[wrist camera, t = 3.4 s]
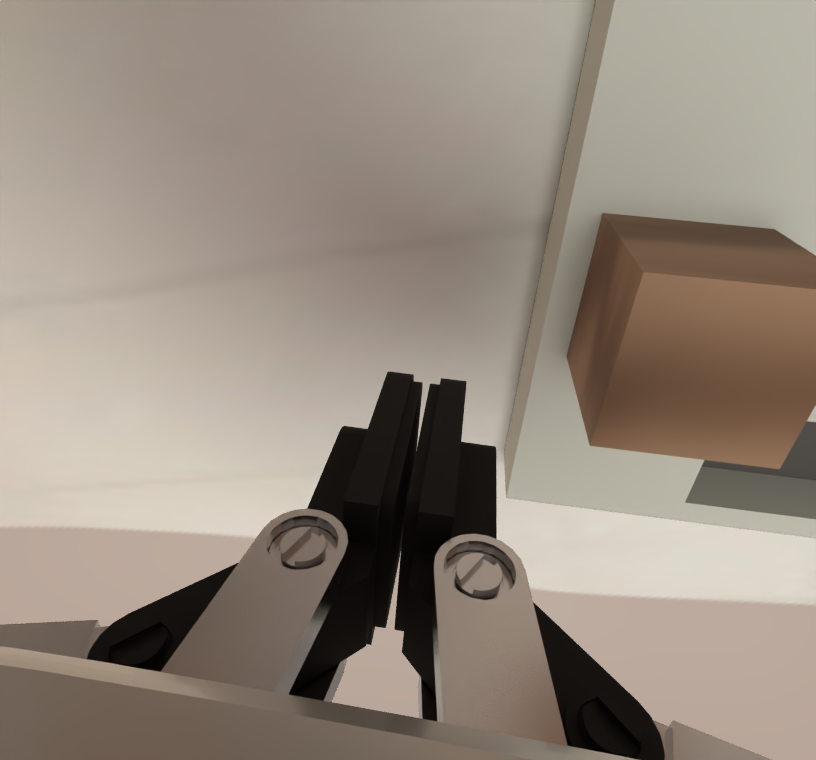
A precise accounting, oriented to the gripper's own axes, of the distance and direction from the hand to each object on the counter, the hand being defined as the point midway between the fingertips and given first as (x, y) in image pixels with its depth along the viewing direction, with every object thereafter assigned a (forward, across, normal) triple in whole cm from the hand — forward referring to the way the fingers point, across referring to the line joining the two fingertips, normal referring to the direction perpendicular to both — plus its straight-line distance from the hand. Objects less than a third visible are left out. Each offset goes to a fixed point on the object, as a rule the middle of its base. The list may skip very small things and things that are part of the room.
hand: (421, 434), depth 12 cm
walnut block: (+8, -7, -1) cm, 11 cm away
